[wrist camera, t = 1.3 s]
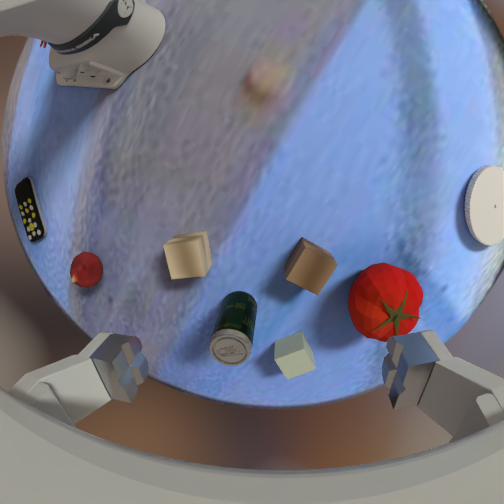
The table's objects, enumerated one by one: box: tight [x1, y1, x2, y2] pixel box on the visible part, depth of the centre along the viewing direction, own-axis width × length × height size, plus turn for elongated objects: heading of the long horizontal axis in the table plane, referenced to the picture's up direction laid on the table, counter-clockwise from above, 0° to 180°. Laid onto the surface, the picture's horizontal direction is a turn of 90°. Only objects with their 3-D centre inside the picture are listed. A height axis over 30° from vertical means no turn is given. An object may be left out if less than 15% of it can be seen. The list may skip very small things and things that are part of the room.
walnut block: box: [285, 237, 337, 295], centre depth 38 cm, size 5×5×5 cm
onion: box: [70, 252, 103, 288], centre depth 40 cm, size 6×6×8 cm
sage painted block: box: [274, 331, 315, 379], centre depth 43 cm, size 5×5×5 cm
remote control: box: [15, 177, 47, 242], centre depth 41 cm, size 6×13×2 cm, turn 16°
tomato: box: [348, 263, 423, 342], centre depth 36 cm, size 12×12×10 cm
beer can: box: [210, 291, 257, 366], centre depth 38 cm, size 5×5×12 cm
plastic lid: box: [464, 165, 504, 245], centre depth 34 cm, size 14×14×2 cm
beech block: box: [163, 231, 213, 279], centre depth 39 cm, size 5×5×5 cm
